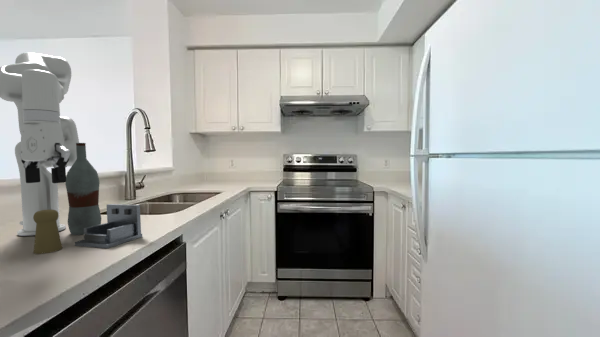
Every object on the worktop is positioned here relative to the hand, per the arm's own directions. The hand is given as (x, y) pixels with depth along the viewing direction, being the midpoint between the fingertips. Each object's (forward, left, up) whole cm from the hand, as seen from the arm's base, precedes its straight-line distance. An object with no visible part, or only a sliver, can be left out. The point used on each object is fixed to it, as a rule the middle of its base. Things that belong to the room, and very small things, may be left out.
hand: (46, 182), depth 81 cm
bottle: (-10, +18, -19) cm, 28 cm away
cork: (0, 0, -19) cm, 19 cm away
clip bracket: (+9, +11, -18) cm, 23 cm away
